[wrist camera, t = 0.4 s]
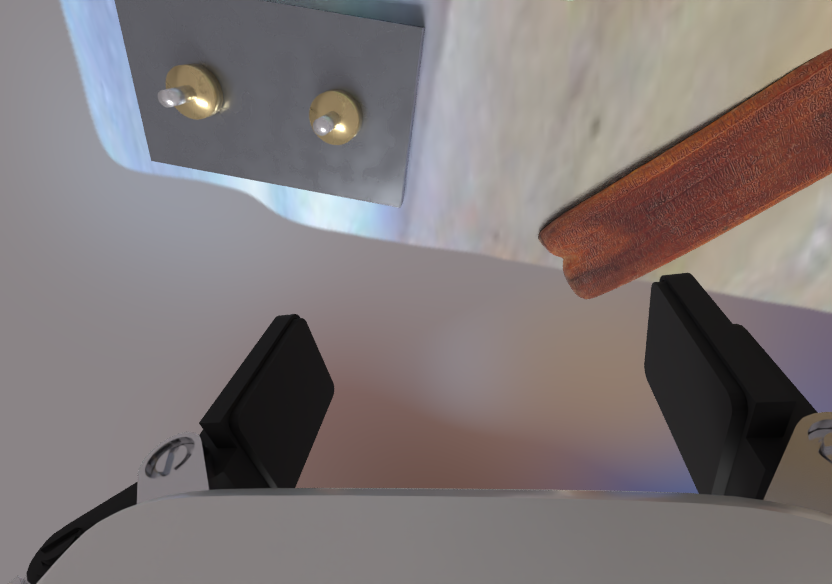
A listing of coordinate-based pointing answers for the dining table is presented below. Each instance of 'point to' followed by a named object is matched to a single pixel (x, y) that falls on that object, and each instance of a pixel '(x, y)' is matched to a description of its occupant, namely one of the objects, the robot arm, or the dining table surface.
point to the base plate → (276, 93)
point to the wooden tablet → (701, 184)
